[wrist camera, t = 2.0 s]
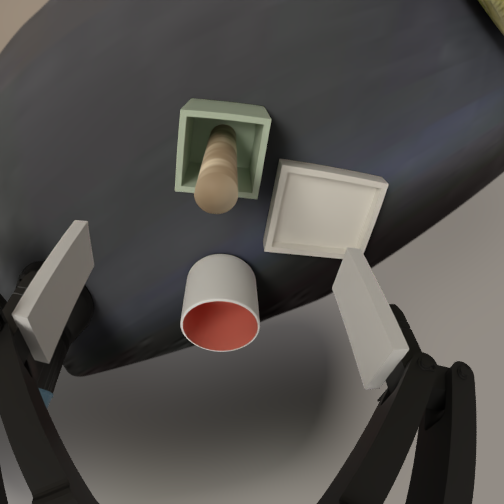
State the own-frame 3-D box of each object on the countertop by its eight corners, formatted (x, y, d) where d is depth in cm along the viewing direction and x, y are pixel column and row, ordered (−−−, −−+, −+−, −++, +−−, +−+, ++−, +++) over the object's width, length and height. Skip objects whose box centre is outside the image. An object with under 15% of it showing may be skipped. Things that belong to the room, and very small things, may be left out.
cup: (193, 243, 44) (185, 292, 36) (263, 257, 46) (270, 306, 38) (183, 295, 49) (176, 345, 41) (245, 306, 51) (248, 356, 43)
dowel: (208, 147, 35) (192, 211, 22) (211, 123, 34) (195, 172, 21) (234, 150, 36) (235, 215, 23) (237, 125, 34) (240, 176, 21)
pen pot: (185, 164, 37) (174, 191, 31) (191, 98, 33) (180, 109, 26) (252, 171, 38) (257, 199, 32) (263, 106, 34) (271, 119, 27)
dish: (262, 241, 44) (264, 251, 42) (279, 158, 37) (282, 164, 35) (355, 251, 46) (360, 260, 44) (381, 176, 39) (388, 184, 37)
